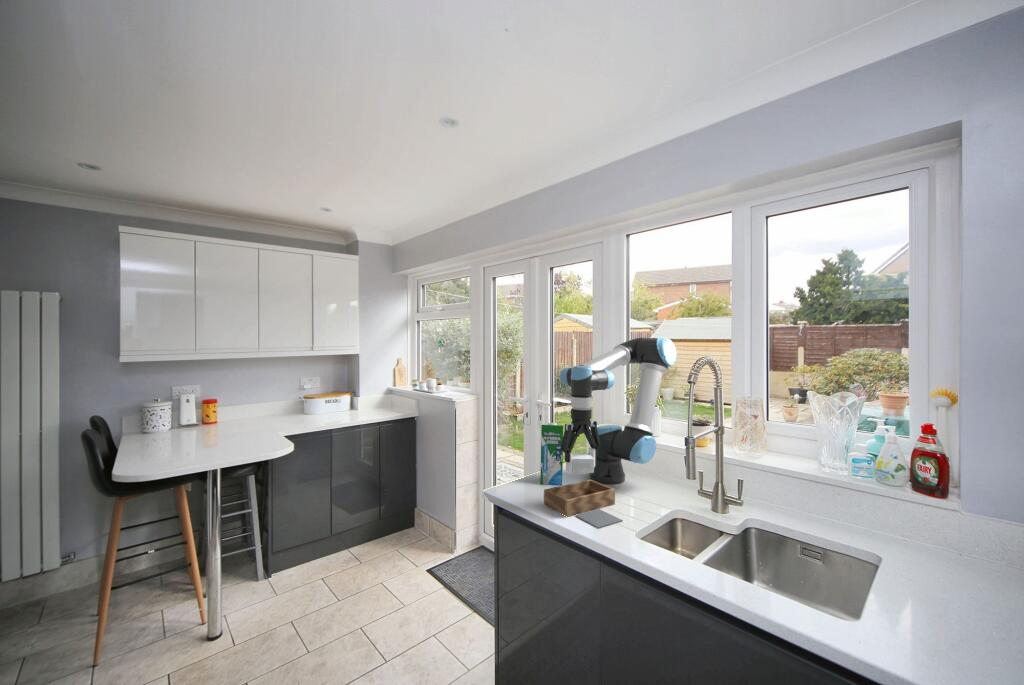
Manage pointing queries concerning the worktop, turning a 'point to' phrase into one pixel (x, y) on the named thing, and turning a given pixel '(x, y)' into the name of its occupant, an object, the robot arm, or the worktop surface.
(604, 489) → the walnut frame
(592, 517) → the rubber pad
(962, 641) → the worktop surface
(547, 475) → the milk carton
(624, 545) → the worktop surface
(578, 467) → the small box
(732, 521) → the worktop surface
